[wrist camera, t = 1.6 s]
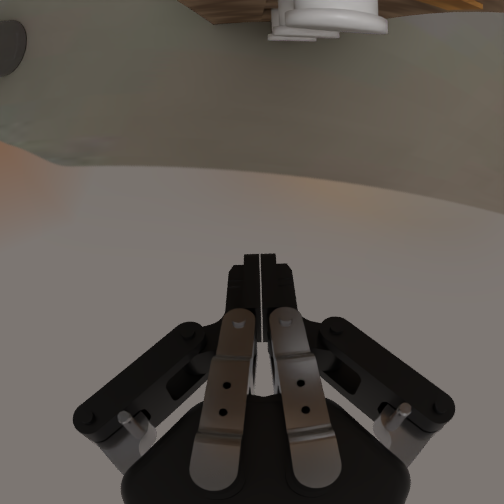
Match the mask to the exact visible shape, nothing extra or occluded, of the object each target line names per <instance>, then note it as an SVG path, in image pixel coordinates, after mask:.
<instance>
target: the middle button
mask: <svg viewBox="0 0 504 504" xmlns="http://www.w3.org/2000/svg"><path fill="white" fill-rule="evenodd" d="M289 10H294V1H293V0H278V14H279V26H275V27H273V36H281V37H304V38H340V35H339V32H336V31H324V30H311V29H300V28H292V27H287V26H285V12H286V11H289Z"/></svg>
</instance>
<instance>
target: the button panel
mask: <svg viewBox="0 0 504 504" xmlns="http://www.w3.org/2000/svg"><path fill="white" fill-rule="evenodd" d="M177 1H179V2H180V3H182V4H184V5H185V6H187V7H188V8H190V9H191V10H193V11H194V12H196V13H197V14H199V15H200V16H202V17H203V18H205V19H206V20H208V21H209V22H211V23H212V24H213V25H214V24H225V23H240V22H270V21H271V8H278V0H177ZM443 12H503V13H504V0H378V16H381V17H383V18H385V19H387V18H394V17H401V16H409V15H418V14H429V13H443Z"/></svg>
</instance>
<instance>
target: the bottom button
mask: <svg viewBox="0 0 504 504" xmlns="http://www.w3.org/2000/svg"><path fill="white" fill-rule="evenodd" d="M271 22H272V34H268V41H316V38H304V37H281V36H273V27H275V26H279V14H278V8H271Z"/></svg>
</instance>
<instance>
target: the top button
mask: <svg viewBox="0 0 504 504" xmlns="http://www.w3.org/2000/svg"><path fill="white" fill-rule="evenodd" d="M293 1H294V10H289V11H286V12H285V26H287V27H292V28H300V29H311V30H324V31H336V32H350V33H363V34H387V33H388V21H387V19H385V18H383V17H381V16H378V0H293Z"/></svg>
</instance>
